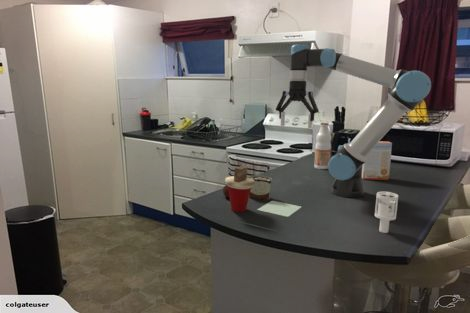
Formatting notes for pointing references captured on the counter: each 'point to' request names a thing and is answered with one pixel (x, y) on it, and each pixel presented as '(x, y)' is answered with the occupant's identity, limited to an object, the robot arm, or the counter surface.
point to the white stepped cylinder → (386, 209)
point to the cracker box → (378, 162)
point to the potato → (226, 191)
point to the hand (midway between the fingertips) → (295, 127)
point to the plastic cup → (238, 198)
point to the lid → (240, 178)
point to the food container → (261, 187)
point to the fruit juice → (322, 147)
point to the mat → (279, 208)
